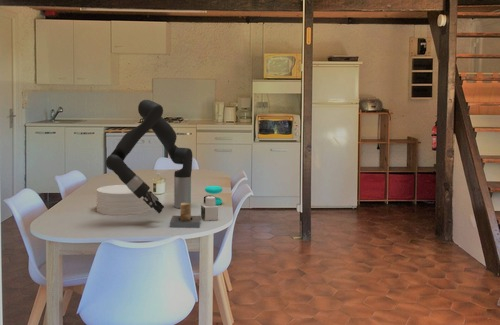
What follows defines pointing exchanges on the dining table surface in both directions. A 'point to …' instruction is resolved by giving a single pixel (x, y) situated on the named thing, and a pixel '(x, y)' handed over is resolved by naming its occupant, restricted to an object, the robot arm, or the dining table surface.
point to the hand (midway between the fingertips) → (161, 210)
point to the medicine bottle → (209, 209)
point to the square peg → (185, 211)
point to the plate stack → (119, 201)
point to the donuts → (214, 192)
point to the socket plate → (185, 222)
